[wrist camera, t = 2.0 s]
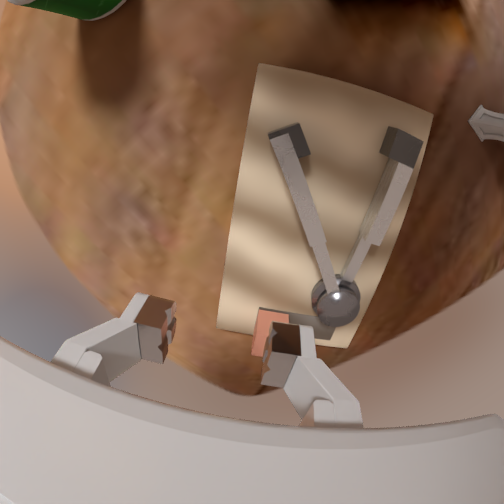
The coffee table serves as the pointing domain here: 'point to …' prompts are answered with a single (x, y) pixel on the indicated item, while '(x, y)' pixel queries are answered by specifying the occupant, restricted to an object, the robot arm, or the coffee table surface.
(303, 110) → the board
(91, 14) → the soda can
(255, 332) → the salmon pink block
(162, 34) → the coffee table surface
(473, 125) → the eiffel tower
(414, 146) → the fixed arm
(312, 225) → the tong arm
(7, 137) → the coffee table surface
